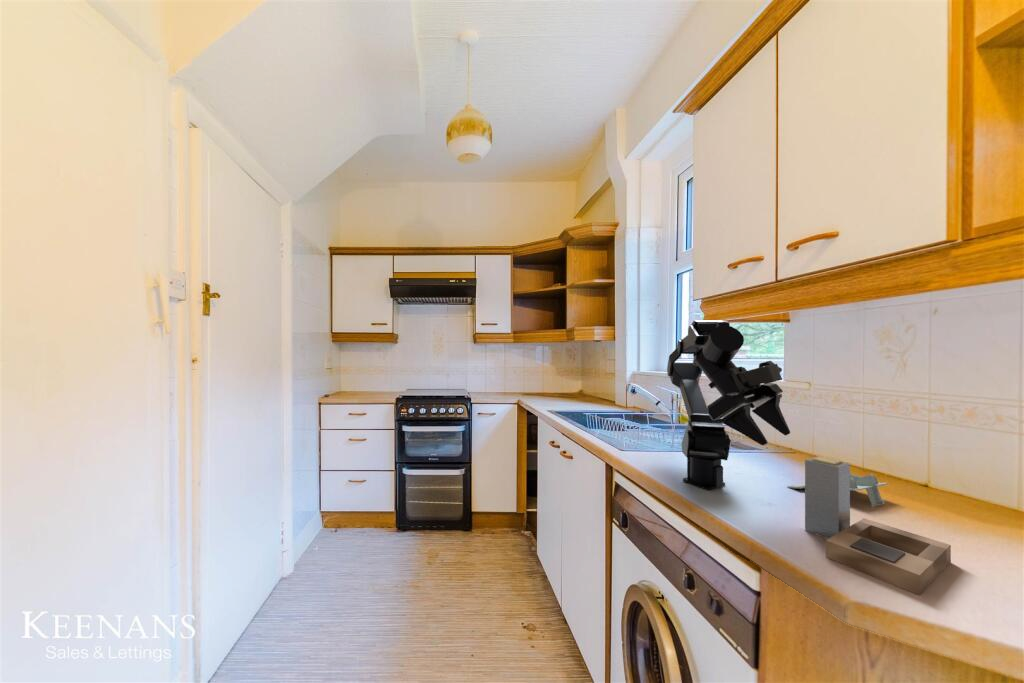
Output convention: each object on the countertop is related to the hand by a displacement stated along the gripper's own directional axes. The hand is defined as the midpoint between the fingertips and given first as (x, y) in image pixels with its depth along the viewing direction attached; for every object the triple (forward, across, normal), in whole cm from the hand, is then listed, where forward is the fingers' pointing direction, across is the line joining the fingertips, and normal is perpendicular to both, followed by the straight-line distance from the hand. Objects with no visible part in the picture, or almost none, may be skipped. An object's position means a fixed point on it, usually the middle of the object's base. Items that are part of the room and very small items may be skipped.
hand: (777, 439), depth 68 cm
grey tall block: (+16, -2, +3) cm, 16 cm away
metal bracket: (+14, +22, +9) cm, 28 cm away
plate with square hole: (+20, -4, -3) cm, 21 cm away
